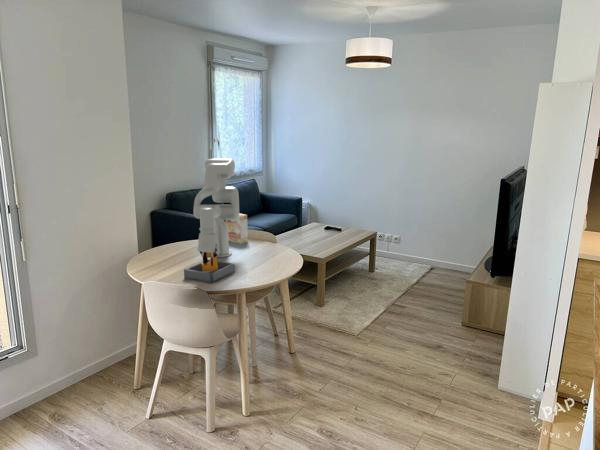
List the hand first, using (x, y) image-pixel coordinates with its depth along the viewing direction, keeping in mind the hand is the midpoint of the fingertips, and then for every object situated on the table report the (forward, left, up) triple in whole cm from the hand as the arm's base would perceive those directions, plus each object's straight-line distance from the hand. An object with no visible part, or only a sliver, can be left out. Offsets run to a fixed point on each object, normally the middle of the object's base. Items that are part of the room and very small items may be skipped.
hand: (209, 263), depth 236 cm
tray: (0, 0, -7) cm, 7 cm away
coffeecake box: (-28, +67, -7) cm, 73 cm away
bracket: (0, 0, -3) cm, 3 cm away
